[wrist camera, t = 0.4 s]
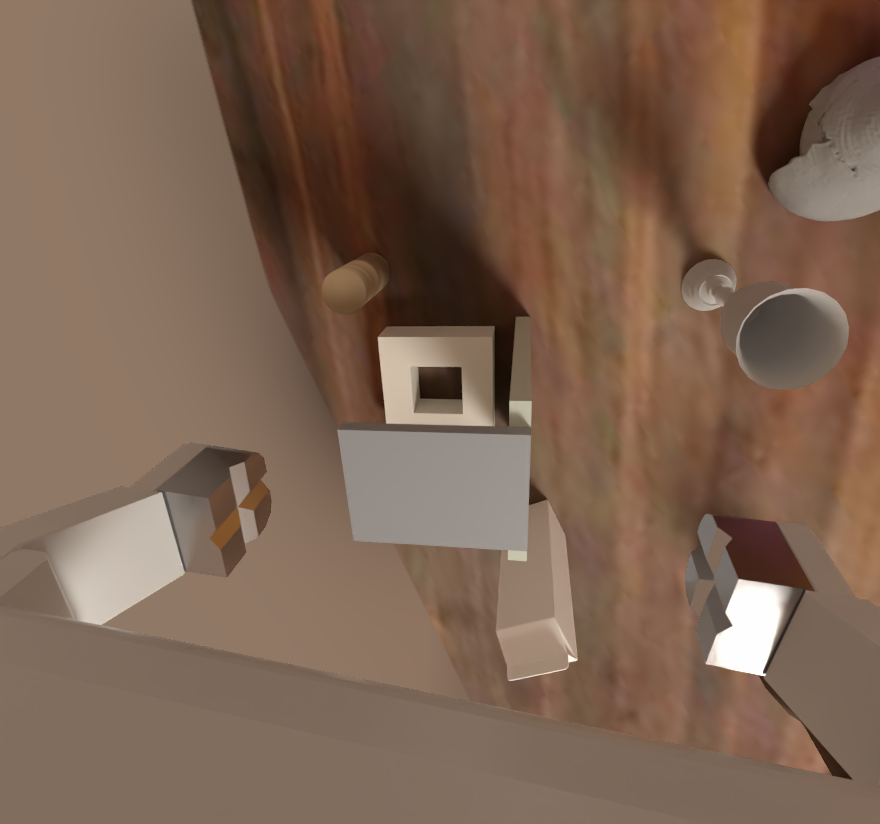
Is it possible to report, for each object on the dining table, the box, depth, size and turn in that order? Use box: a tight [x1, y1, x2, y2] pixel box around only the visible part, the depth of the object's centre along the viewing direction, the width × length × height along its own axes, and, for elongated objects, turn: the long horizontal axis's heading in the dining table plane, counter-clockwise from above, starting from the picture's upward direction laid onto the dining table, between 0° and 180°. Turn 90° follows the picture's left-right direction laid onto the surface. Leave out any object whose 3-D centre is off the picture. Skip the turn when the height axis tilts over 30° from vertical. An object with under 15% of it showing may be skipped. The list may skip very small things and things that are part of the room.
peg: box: [322, 253, 391, 314], centre depth 51 cm, size 4×4×10 cm
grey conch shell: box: [768, 57, 880, 221], centre depth 41 cm, size 12×12×11 cm
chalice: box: [681, 259, 849, 390], centre depth 43 cm, size 7×7×18 cm
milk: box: [496, 500, 578, 681], centre depth 57 cm, size 6×6×22 cm
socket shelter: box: [337, 317, 532, 561], centre depth 49 cm, size 14×16×23 cm
